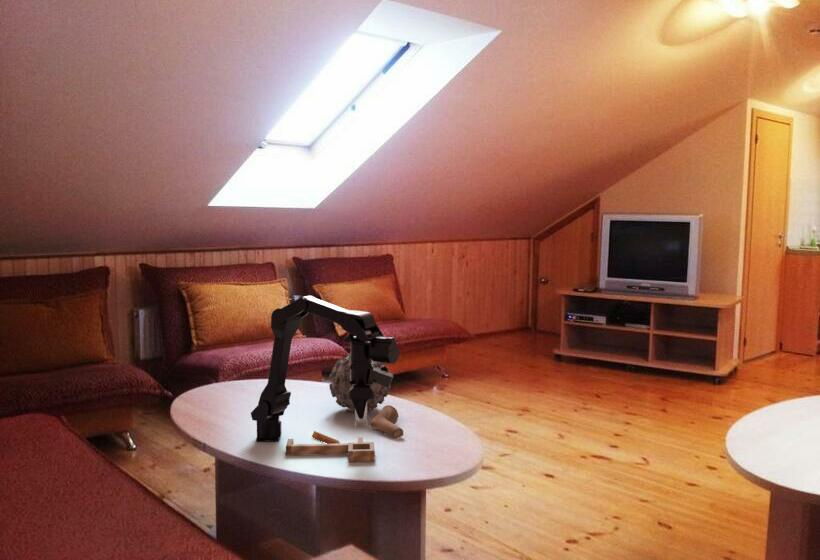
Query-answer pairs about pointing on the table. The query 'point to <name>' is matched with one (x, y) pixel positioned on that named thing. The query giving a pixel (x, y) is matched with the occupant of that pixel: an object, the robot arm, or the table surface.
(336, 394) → the ornament
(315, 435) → the chocolate bar
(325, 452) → the dock
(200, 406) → the table surface
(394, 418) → the pipe
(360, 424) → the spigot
